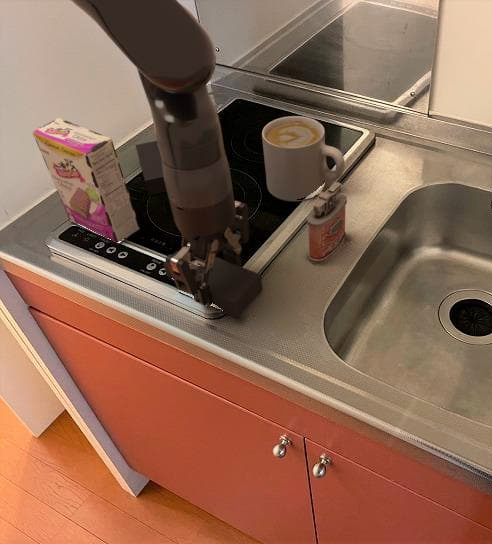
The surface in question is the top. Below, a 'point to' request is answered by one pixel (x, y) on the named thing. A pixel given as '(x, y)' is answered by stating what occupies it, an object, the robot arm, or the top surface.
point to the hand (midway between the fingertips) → (219, 287)
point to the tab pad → (229, 286)
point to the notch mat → (151, 167)
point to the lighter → (327, 225)
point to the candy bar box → (88, 178)
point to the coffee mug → (297, 157)
